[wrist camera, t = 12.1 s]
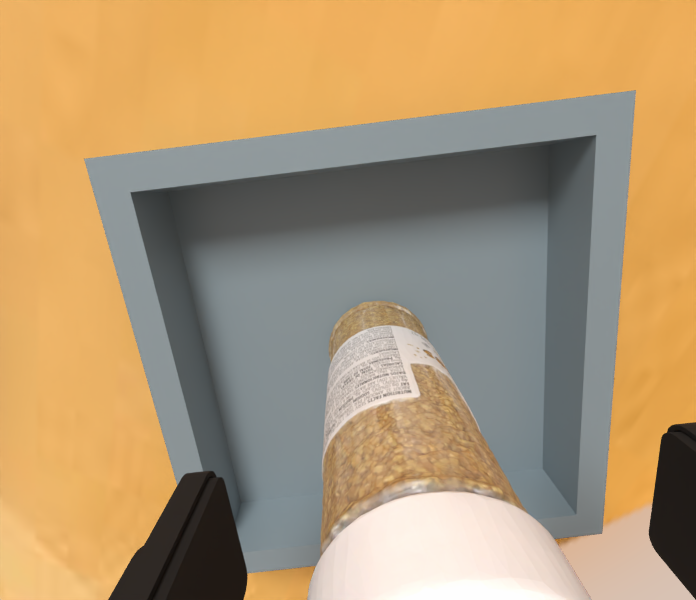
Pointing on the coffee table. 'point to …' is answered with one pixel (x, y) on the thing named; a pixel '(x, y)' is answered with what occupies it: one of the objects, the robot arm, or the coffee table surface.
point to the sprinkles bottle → (418, 481)
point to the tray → (379, 294)
